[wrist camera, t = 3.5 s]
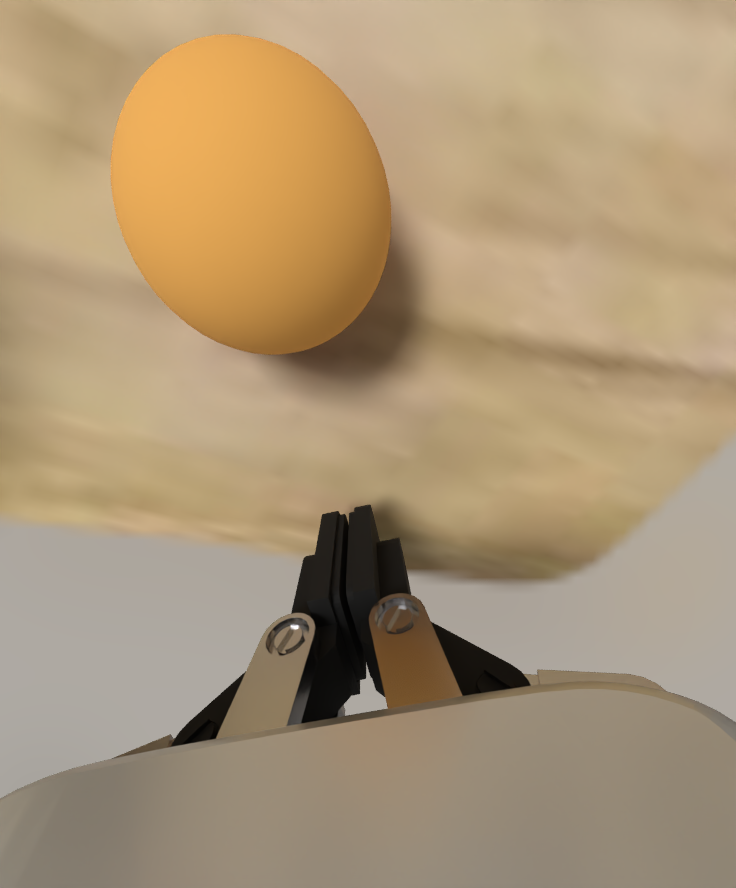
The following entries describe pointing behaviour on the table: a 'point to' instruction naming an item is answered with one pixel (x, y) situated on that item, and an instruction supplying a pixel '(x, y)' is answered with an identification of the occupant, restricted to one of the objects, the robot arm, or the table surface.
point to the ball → (251, 194)
